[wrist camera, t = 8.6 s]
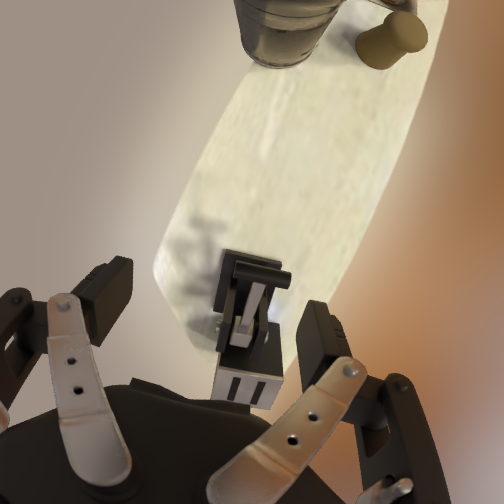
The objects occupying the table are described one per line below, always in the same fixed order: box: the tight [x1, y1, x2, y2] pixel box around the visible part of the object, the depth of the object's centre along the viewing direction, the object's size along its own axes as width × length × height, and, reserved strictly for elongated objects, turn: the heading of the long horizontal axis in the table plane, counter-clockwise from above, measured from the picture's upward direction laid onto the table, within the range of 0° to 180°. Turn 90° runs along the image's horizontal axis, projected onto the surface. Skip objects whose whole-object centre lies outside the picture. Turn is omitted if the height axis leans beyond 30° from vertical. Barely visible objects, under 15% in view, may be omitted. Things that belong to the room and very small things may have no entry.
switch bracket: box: [213, 249, 282, 359], centre depth 37 cm, size 10×8×13 cm
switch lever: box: [229, 261, 291, 348], centre depth 29 cm, size 12×5×2 cm, turn 165°
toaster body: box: [210, 316, 284, 410], centre depth 41 cm, size 7×8×12 cm
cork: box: [356, 11, 428, 70], centre depth 24 cm, size 6×6×11 cm
